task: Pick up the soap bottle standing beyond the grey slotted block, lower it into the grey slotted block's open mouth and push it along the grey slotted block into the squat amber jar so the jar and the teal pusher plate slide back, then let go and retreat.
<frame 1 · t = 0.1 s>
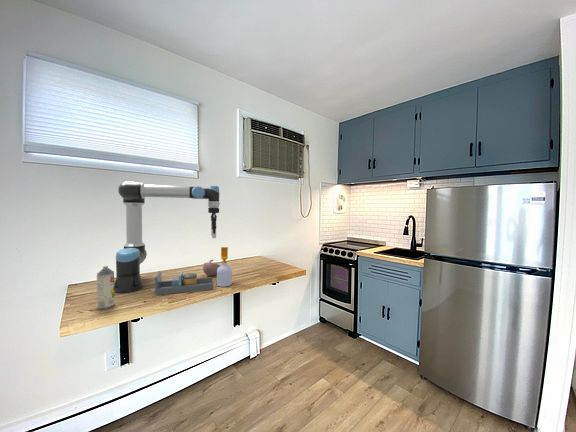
hand: (213, 236, 168), 28 cm above the worktop, fingers open, 13 cm apart
soap bottle: (224, 284, 150), on the worktop
pusher: (177, 281, 140), point 5 cm above the worktop, slide at 0.0 cm
grey slotted block: (187, 288, 142), on the worktop
amber jar: (189, 287, 143), resting in grey slotted block
pink pumpkin: (211, 275, 168), on the worktop
aerosol can: (106, 306, 115), on the worktop
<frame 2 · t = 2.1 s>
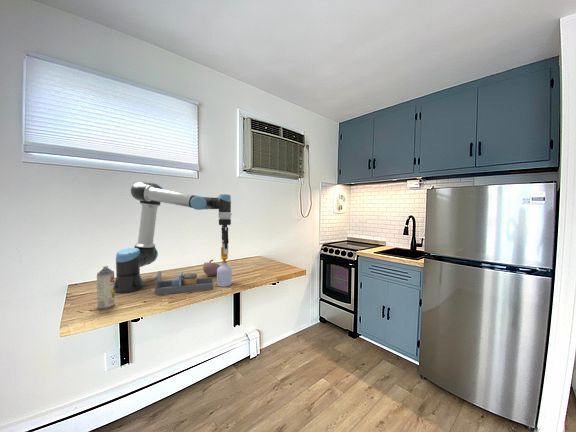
hand: (224, 251, 149), 21 cm above the worktop, fingers open, 13 cm apart
nothing on the worktop moved.
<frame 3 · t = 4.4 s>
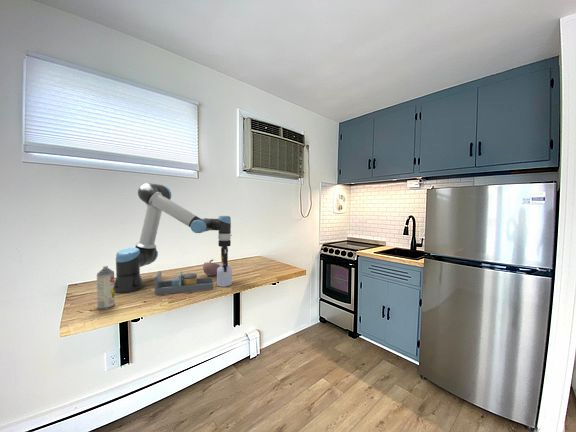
hand: (224, 274, 149), 7 cm above the worktop, fingers closed on soap bottle, 9 cm apart
soap bottle: (224, 284, 150), on the worktop, touching gripper
everything else where it was.
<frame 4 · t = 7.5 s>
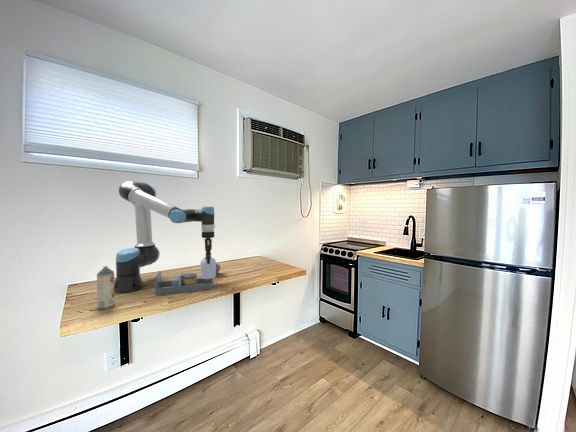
hand: (208, 266, 146), 12 cm above the worktop, fingers closed on soap bottle, 9 cm apart
soap bottle: (208, 277, 146), point 6 cm above the worktop, touching gripper
everything else where it was.
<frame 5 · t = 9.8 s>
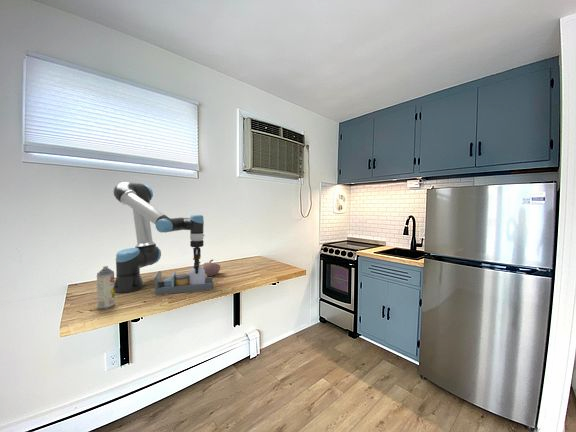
hand: (196, 276, 144), 7 cm above the worktop, fingers closed on soap bottle, 9 cm apart
soap bottle: (197, 286, 144), resting in grey slotted block, touching amber jar, gripper
pusher: (169, 281, 139), point 5 cm above the worktop, slide at 3.9 cm, touching amber jar
amber jar: (182, 288, 141), resting in grey slotted block, touching pusher, soap bottle
everything else where it was.
when the fingers open (7 cm above the worktop, at t = 11.1 s): soap bottle stays where it is, resting in grey slotted block.
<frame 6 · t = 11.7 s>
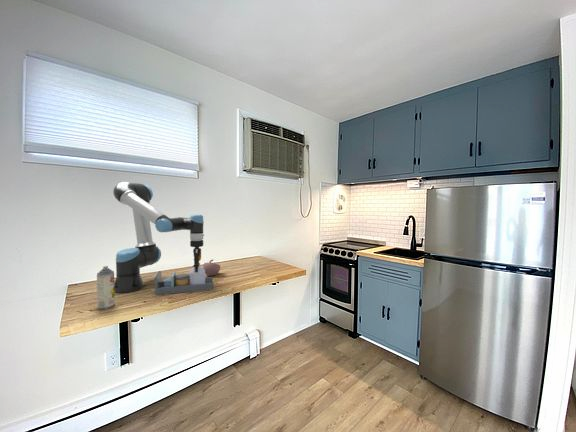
hand: (196, 274, 144), 8 cm above the worktop, fingers open, 13 cm apart
soap bottle: (197, 287, 144), resting in grey slotted block
pusher: (169, 281, 139), point 5 cm above the worktop, slide at 3.9 cm
amber jar: (182, 288, 141), resting in grey slotted block
everything else where it was.
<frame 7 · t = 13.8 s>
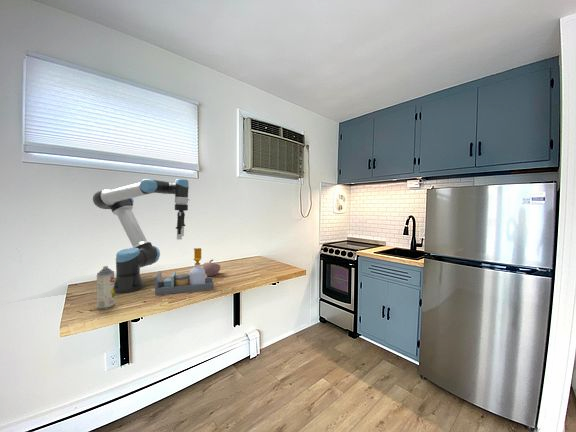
hand: (180, 237, 146), 30 cm above the worktop, fingers open, 13 cm apart
nothing on the worktop moved.
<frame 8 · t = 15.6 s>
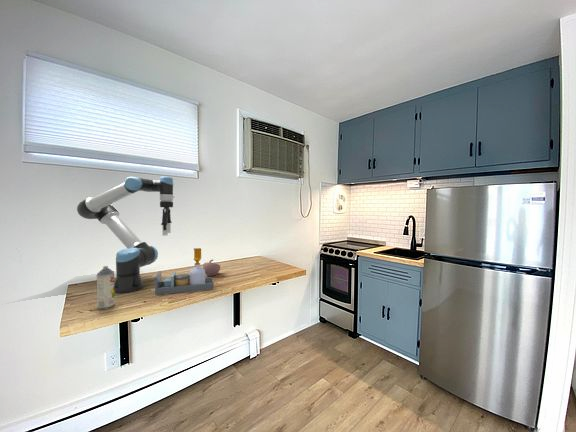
hand: (166, 234, 150), 32 cm above the worktop, fingers open, 13 cm apart
nothing on the worktop moved.
at the end: pusher slide at 3.9 cm; soap bottle inside the target area on the grey slotted block (1.2 cm from its centre), point 0.0 cm above the grey slotted block's base; soap bottle tilted 0° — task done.
